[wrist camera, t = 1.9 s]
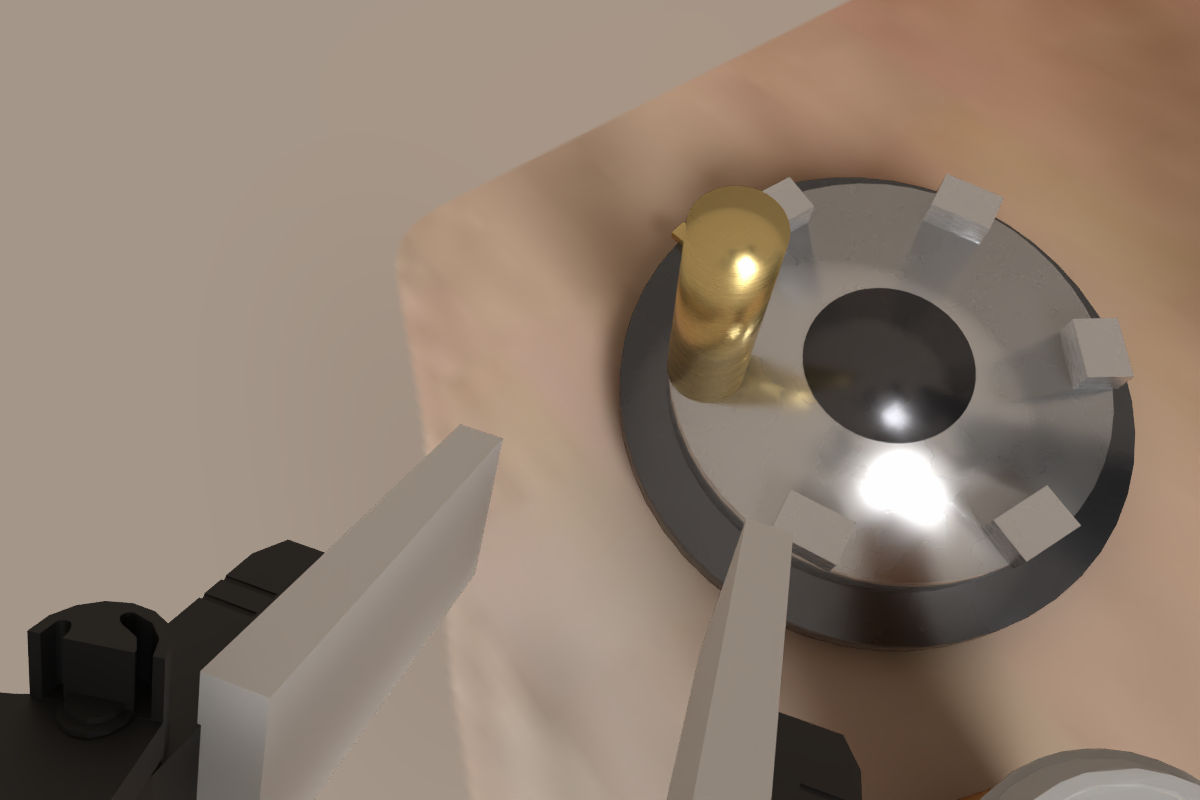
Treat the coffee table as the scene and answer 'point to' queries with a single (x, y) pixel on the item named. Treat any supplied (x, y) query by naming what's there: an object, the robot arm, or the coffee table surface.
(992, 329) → the lugged metal disc
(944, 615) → the base plate
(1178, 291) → the coffee table surface
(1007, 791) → the disposable coffee cup
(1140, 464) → the coffee table surface
